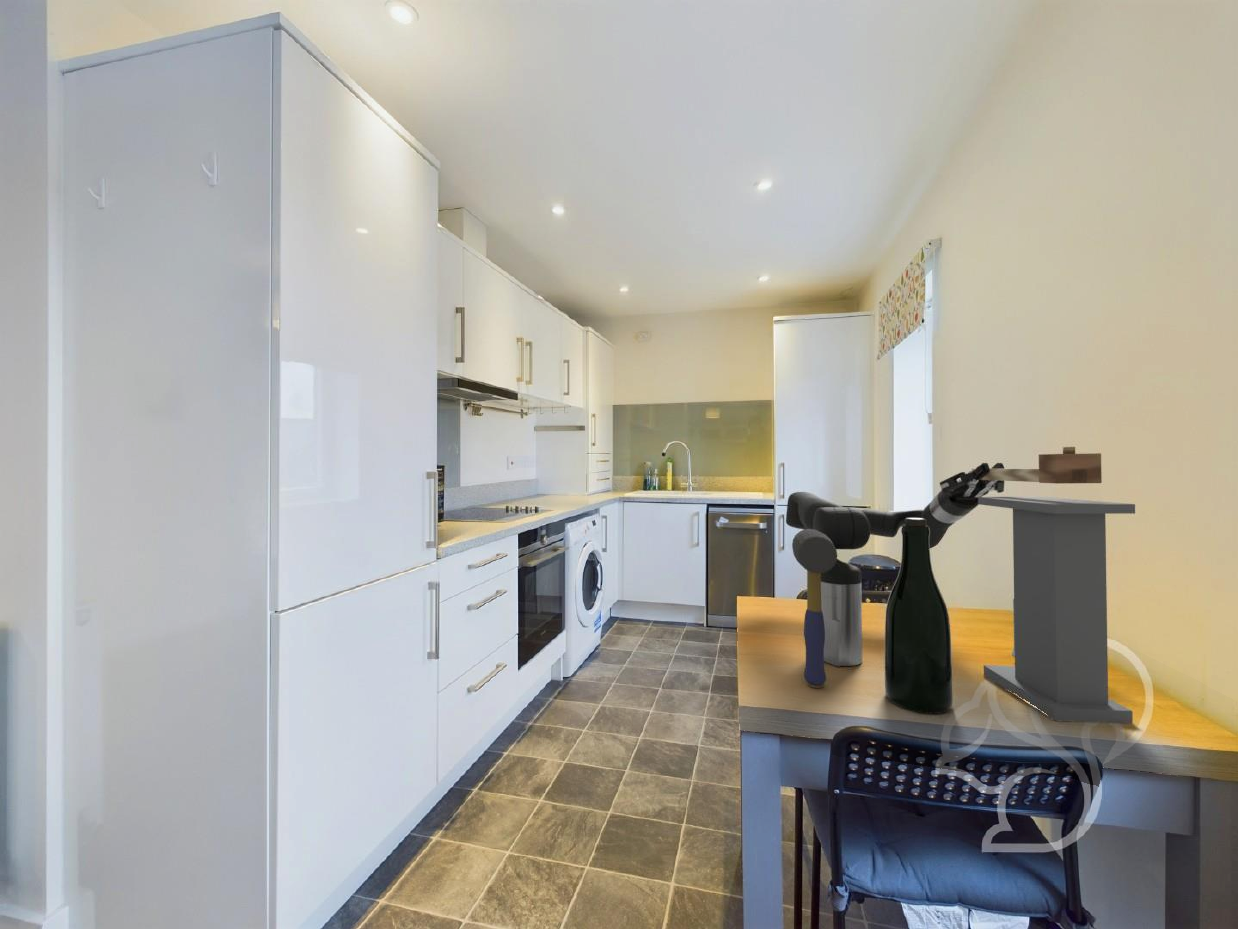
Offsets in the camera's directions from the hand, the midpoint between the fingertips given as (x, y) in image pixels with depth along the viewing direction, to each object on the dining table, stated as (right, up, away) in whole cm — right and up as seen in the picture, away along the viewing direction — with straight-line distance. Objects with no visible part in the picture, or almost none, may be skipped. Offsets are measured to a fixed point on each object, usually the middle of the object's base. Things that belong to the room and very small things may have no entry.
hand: (994, 466), depth 105 cm
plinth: (-1, -42, -15) cm, 44 cm away
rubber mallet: (-41, -43, -9) cm, 60 cm away
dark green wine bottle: (-26, -42, -16) cm, 52 cm away
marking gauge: (-1, -3, -8) cm, 8 cm away
